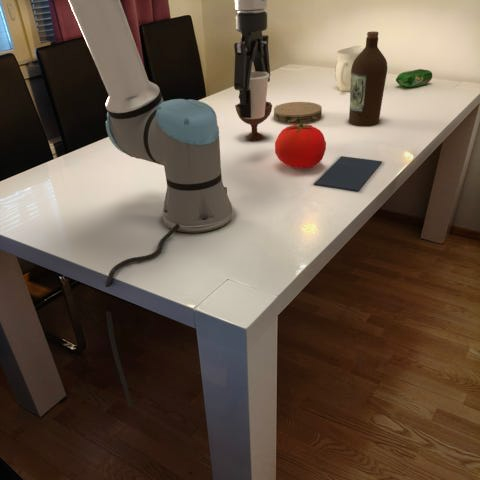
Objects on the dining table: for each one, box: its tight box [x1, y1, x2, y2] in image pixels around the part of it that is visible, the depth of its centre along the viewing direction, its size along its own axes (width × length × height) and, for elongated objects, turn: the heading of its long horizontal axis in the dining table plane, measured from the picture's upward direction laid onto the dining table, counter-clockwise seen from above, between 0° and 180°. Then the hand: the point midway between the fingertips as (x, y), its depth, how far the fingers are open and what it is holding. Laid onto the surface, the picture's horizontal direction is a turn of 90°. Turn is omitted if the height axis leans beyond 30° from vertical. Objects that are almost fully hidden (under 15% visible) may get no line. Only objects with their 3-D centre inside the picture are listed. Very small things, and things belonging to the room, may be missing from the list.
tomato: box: [274, 124, 327, 170], centre depth 125 cm, size 13×12×11 cm
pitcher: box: [334, 45, 364, 93], centre depth 185 cm, size 11×18×14 cm, turn 151°
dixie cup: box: [238, 70, 270, 119], centre depth 125 cm, size 8×8×10 cm
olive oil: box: [348, 30, 388, 127], centre depth 148 cm, size 11×11×25 cm
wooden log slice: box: [273, 101, 323, 126], centre depth 163 cm, size 16×16×3 cm
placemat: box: [313, 155, 383, 192], centre depth 123 cm, size 20×11×1 cm, turn 152°
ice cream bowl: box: [234, 93, 273, 142], centre depth 144 cm, size 11×11×15 cm
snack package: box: [395, 68, 433, 88], centre depth 188 cm, size 7×16×5 cm, turn 120°
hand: (253, 112), depth 128 cm, fingers closed on dixie cup, 8 cm apart
